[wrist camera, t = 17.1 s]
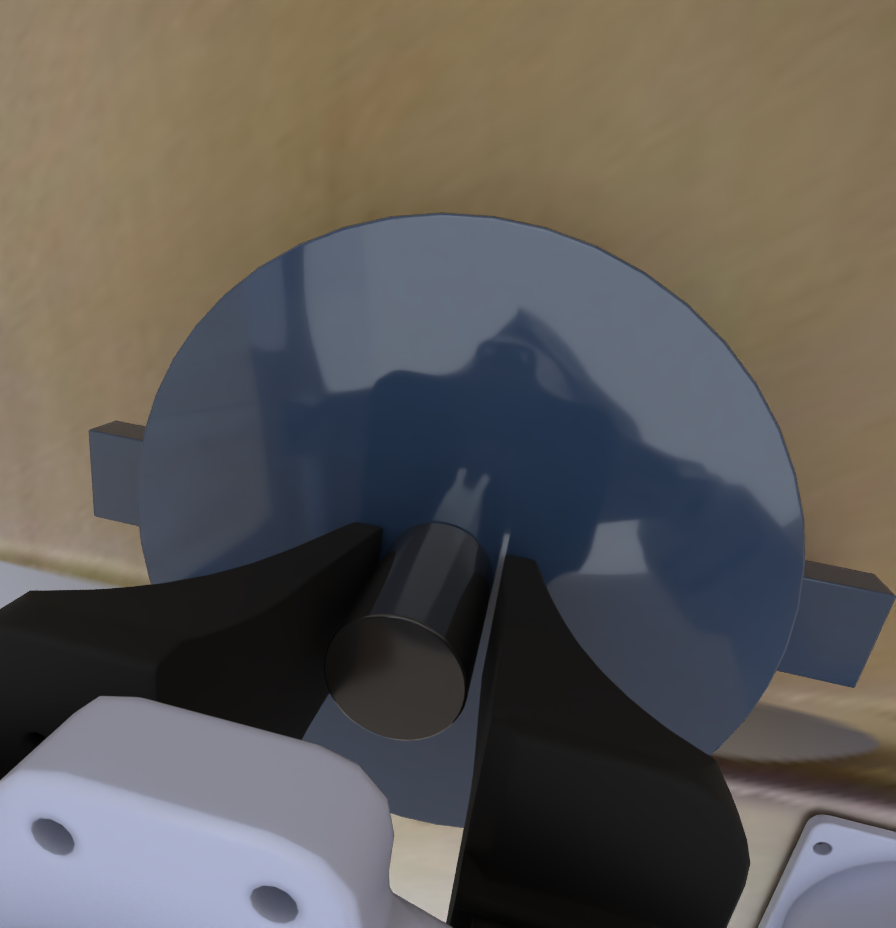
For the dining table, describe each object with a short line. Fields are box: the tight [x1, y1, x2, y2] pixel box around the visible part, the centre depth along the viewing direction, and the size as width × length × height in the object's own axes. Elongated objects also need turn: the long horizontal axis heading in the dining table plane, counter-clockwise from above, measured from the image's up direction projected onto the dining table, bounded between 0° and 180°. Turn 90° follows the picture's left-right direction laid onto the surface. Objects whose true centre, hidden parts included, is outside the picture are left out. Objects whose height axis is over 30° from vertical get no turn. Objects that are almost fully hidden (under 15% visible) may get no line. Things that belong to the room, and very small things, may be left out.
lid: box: [137, 213, 805, 828], centre depth 12 cm, size 14×14×5 cm
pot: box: [89, 421, 896, 688], centre depth 16 cm, size 13×19×4 cm
